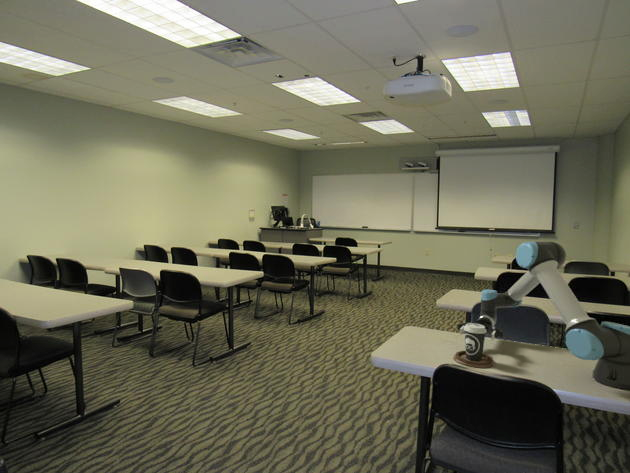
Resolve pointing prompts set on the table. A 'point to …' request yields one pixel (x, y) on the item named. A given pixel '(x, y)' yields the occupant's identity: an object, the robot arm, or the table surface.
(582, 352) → the robot arm
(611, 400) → the table surface
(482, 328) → the coffee cup
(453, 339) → the table surface
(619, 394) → the table surface
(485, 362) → the coaster
